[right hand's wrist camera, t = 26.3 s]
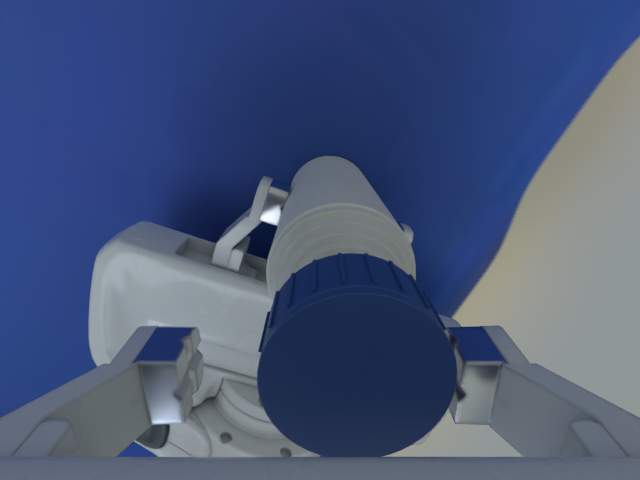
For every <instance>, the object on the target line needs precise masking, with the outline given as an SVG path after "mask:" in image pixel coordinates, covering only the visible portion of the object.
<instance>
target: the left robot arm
mask: <svg viewBox="0 0 640 480" xmlns="http://www.w3.org/2000/svg"><path fill="white" fill-rule="evenodd" d="M290 189H291V185H288V184H286V183H283V182H280V181H277V180H275V179H273V178H269V177H266V176H263V178H262V179H261V181H260V183H259V186H258V189H257V192H256V195H255V198H254V202H253V205H252V207H251V208H250V209H248V210H247V211H246V212H245V213H244V214H243V215H242V216H240V217H239V218H238V219H237V220H236V221H235V222H233V223H232V224H231V225H230V226H229V227H228V228H227V229H226V230H225V231H224V233H223V234H222V236H221V237H220V239H219V240H218V242H217V243H214V242H211V241H207V240H204V239H201V238H198V237H195V236H192V235H189V234H186V233H182V232H179V231H176V230H173V229H170V228H167V227H164V226H161V225H158V224H155V223H151V222H147V221H141V222H138V223H136V224H134V225H132V226H130V227H128V228H127V229H125V230H123V231H121V232H120V233H118V234H117V235H115V236H114V237H113V238H112V239H110V240H109V241H108V242H107V243H106V244H105V245H104V246H103V247H102V248H101V249H100V251H99V252H98V254H97V257H96V259H95V264H94V268H93V274H92V281H91V290H90V301H89V329H88V332H89V346H90V351H91V355H92V357H93V360H94V362H95V364H96V365H97V367H98V366H100V365H102V364H110V363H111V361H112V360H113V359H114V357H115V356H116V355H117V353H118V352H119V351H120V350H121V348H122V347H123V346H124V344H125V343H126V342H127V341H128V339H129V338H130V337H131V335H132V334H133V333H134V332H135V330H136V329H137V328H138V327H141V326H183V327H197V328H198V329H199V332H200V338H201V341H200V344H199V346H198V348H197V349H198V350H199V351H200V352H201V353H202V354H203V361H204V372H203V377H202V383H201V385H200V388H199V390H198V391H197V392H196V393H194V394H193V395H192V398H193V405H192V408H191V410H190V413H189V415H188V417H187V420H186V422H185V424H161V425H150V427H149V428H148V429H147V430H146V431H145V432H144V433H143V434H141V435H140V436H139V437H138V438H137V439H136V440H135V441H134V442H136V443H137V444H139V445H141V446H143V447H144V448H146V449H147V450H149V451H150V452H152V453H154V454H155V455H156V456H158V457H320V455H318V454H315V453H313V452H310V451H308V450H306V449H304V448H302V447H300V446H298V445H296V444H295V443H293V442H292V441H290V440H289V439H287V438H286V437H285V436H284V435H283V434H282V433H281V432H279V430H278V429H277V428H276V427H275V426H274V425H273V424H272V422H271V421H270V419H269V418H268V416H267V415H266V413H265V410H264V408H263V406H262V404H261V401H260V397H259V394H258V387H257V370H258V365H259V359H260V355H261V352H258V350H259V346H260V342H261V337H262V333H263V329H264V325H265V320H266V316H267V312H270V310H271V307H272V304H273V302H272V299H271V296H270V293H269V290H268V286H267V279H266V265H267V259H264V258H261V257H258V256H254V255H251V254H248V253H247V250H248V246H249V243H250V237H249V236H246V235H247V234H249V233H250V232H251V231H252V230H253V229H254V228H255V227H257V226H258V225H259V224H260V223H261V222H262V221H263V222H266V223H269V224H272V225H276V226H278V224H279V221H280V218H281V215H282V211H283V208H284V205H285V203H286V201H287V199H288V196H289V193H290ZM396 222H397V221H396ZM397 223H398V225H399V226H400V228H401V229H402V231H403V232H404V234H405V235H406V237H407V238H408V240H409V242H410V245H411V243H412V241H413V235H414V233H413V231H412V229H411V228H410V226H409V225H406V224H403V223H400V222H397ZM438 315H439V317H440V318H441V320H442V322H443V324H444V325H445V327H461V325H460V324H459V323H458V322H457V321H456V320H454V319H452V318H449V317H446V316H443V315H440V314H438ZM449 411H450V410H449V408H448V409H447V411H446V413H445V415H444V416H443V417H442V419H443V418H444V417H445V416H446V415H447V414H448V412H449ZM442 419H441V420H442ZM441 420H440V421H439V423H440V422H441ZM439 423H438V424H439ZM438 424H437V425H438ZM437 425H436V426H437ZM436 426H435V427H436ZM435 427H434V428H435ZM434 428H433V429H434ZM433 429H432V430H433ZM432 430H431V431H430V432H429V433H428V434H426V435H425V436H424V437H423V438H421V439H420V440H418V441H417V442H415V443H414V444H422V443H423V442H424V441H425V440H426V439H427V438H428V437H429V435H430V433H431V432H432ZM412 445H413V444H412Z"/></svg>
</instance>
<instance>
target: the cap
mask: <svg viewBox="0 0 640 480" xmlns="http://www.w3.org/2000/svg"><path fill="white" fill-rule="evenodd" d="M444 330H446V327H445V325H444V324H443V322H442V320H441V318H440V317H439V315H438V313H437V312H436V310H435V308H434V307H433V305H432V303H431V302H430V300H429V298H428V296H427V295H426V293H425V292H424V293H422V291H421V290H420V288H419V286H418V284H417V283H416V281H415V279H414V277H413V276H412V275H411V274H409V275H408V274H407V273H406V272H405V271H403V270H402V269H401V268H399V267H398V266H396V265H395V264H393V262H392V261H390V260H389V261H386V260H384V259H382V258H378V257H375V256H371V255H368V253H364V254H357V253H346V254H342V253H338V254H337V255H331V256H327V257H324V258H321V259H318V260H316V259H315V260H313V262H311V263H309V264H307V265H306V266H304V267H303V268H301V269H299V270H298V271H297V272H296V273H294V272H293V273H292V274H291V277H290V278H289V279H288V280H287V281H286V282H285V283H284V284H283V286H282V287H281V289H280V290H279V291H276V293H275V297H274V301H273V304H272V307H271V310H270V312H267V316H266V320H265V325H264V329H263V333H262V337H261V342H260V346H259V350H258V352H261V355H260V359H259V365H258V370H257V387H258V394H259V397H260V401H261V404H262V406H263V408H264V410H265V413H266V415H267V416H268V418H269V419H270V421H271V422H272V424H273V425H274V426H275V427H276V428H277V429H278V430H279V432H281V433H282V434H283V435H284V436H285V437H286V438H287V439H289V440H290V441H292V442H293V443H295V444H296V445H298V446H300V447H302V448H304V449H306V450H308V451H310V452H313V453H315V454H318V455H322V456H326V457H382V456H385V455H389V454H392V453H395V452H397V451H400V450H402V449H404V448H406V447H408V446H410V445H412V444H414V443H415V442H417V441H418V440H420V439H421V438H423V437H424V436H425V435H426V434H428V433H429V432H430V431H431V430H432V429H433V428H434V427H435V426H436V425H437V424H438V423H439V421H440V420H441V419H442V417H443V416H444V415H445V413H446V411H447V409H448V408H449V406H450V404H451V401H452V399H453V396H454V393H455V389H456V384H457V362H456V357H455V353H454V349H453V347H452V345H451V343H450V340H449V338H448V337H447V335H446V333H445V331H444Z"/></svg>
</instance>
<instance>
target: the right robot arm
mask: <svg viewBox="0 0 640 480" xmlns="http://www.w3.org/2000/svg"><path fill="white" fill-rule="evenodd" d="M444 331H445V333H446V335H447V337H448V338H449V340H450V343H451V345H452V347H453V349H454V353H455V357H456V362H457V384H456V389H455V393H454V396H453V399H452V401H451V404H450V406H449V410H450V413H451V415H452V417H453V420H454V422H455V424H479V425H490V427H491V428H492V429H493V430H494V431H495V432H497V433H498V434H499V435H500V436H501V437H502V438H503V439H504V440H506V441H507V442H508V443H509V444H510V445H511V446H512V447H513V448H514V449H516V450H517V451H518V452H519V453H520V454H521V455H522V456H523V457H117V456H118V455H119V454H120V453H121V452H122V451H123V450H125V449H126V448H127V447H128V446H129V445H130V444H131V443H132V442H134V441H135V440H136V439H137V438H138V437H139V436H140V435H141V434H143V433H144V432H145V431H146V430H147V429H148V428H149V427H150V425H161V424H185V422H186V420H187V417H188V415H189V413H190V410H191V408H192V405H193V398H192V395H193V394H194V393H196V392H197V391H198V390H199V388H200V385H201V383H202V377H203V372H204V361H203V354H202V353H201V352H200V351H199V350H198V349H197V348H198V346H199V344H200V341H201V338H200V332H199V329H198V328H197V327H183V326H141V327H138V328H137V329H136V330H135V332H134V333H133V334H132V335H131V337H130V338H129V339H128V341H127V342H126V343H125V344H124V346H123V347H122V348H121V350H120V351H119V352H118V353H117V355H116V356H115V357H114V359H113V360H112V361H111V363H110V364H102V365H100V366H98V367H96V368H94V369H93V370H91V371H89V372H87V373H85V374H83V375H81V376H79V377H77V378H75V379H73V380H72V381H70V382H68V383H66V384H64V385H62V386H60V387H58V388H56V389H54V390H52V391H50V392H49V393H47V394H45V395H43V396H41V397H39V398H37V399H35V400H33V401H31V402H29V403H28V404H26V405H24V406H22V407H20V408H18V409H16V410H14V411H12V412H10V413H8V414H7V415H5V416H3V417H1V418H0V480H640V418H639V417H637V416H635V415H633V414H631V413H629V412H627V411H626V410H624V409H622V408H620V407H618V406H616V405H614V404H612V403H610V402H608V401H607V400H605V399H603V398H601V397H599V396H597V395H595V394H593V393H591V392H589V391H587V390H585V389H584V388H582V387H580V386H578V385H576V384H574V383H572V382H570V381H568V380H566V379H565V378H563V377H561V376H559V375H557V374H555V373H553V372H551V371H549V370H547V369H545V368H544V367H542V366H540V365H538V364H530V363H529V361H528V360H527V359H526V357H525V356H524V355H523V354H522V352H521V351H520V350H519V348H518V347H517V346H516V345H515V343H514V342H513V341H512V339H511V338H510V337H509V336H508V334H507V333H506V332H505V330H504V329H503V328H502V327H500V326H480V327H446V330H444Z"/></svg>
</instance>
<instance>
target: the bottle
mask: <svg viewBox="0 0 640 480" xmlns="http://www.w3.org/2000/svg"><path fill="white" fill-rule="evenodd" d="M338 253H342V254H346V253H357V254H364V253H368V255H371V256H375V257H378V258H382V259H384V260H386V261H389V260H390V261H392V262H393V264H395V265H396V266H398V267H399V268H401V269H402V270H403V271H405V272H406V273H407V274H408V275H409V274H411V275H412V276H413V277H414V279H415V281H416V264H415V257H414V253H413V249H412V247H411V245H410V242H409V240H408V238H407V237H406V235H405V234H404V232H403V231H402V229H401V228H400V226H399V225H398V223H397V222H396V221H395V219H394V218H393V216H392V215H391V213H390V212H389V211H388V209H387V208H386V206H385V205H384V203H383V202H382V201H381V199H380V198H379V196H378V195H377V194H376V192H375V191H374V189H373V188H372V186H371V185H370V184H369V182H368V181H367V179H366V178H365V176H364V175H363V174H362V172H361V171H360V170H359V169H358V167H356V166H355V165H354V164H353V163H351V162H350V161H348V160H346V159H344V158H341V157H336V156H322V157H318V158H315V159H313V160H311V161H309V162H307V163H306V164H304V165H303V166H302V167H301V168H300V169H299V170H298V172H297V173H296V175H295V176H294V178H293V180H292V183H291V189H290V193H289V196H288V199H287V201H286V203H285V205H284V208H283V211H282V215H281V218H280V221H279V224H278V227H277V230H276V233H275V237H274V240H273V243H272V246H271V249H270V252H269V255H268V260H267V265H266V279H267V286H268V290H269V293H270V296H271V299H272V302H273V301H274V297H275V293H276V291H279V290H280V289H281V287H282V286H283V284H284V283H285V282H286V281H287V280H288V279H289V278H290V277H291V274H292V273H293V272H294V273H296V272H297V271H298V270H299V269H301V268H303V267H304V266H306V265H307V264H309V263H311V262H313V260H315V259H316V260H318V259H321V258H324V257H327V256H331V255H337V254H338Z"/></svg>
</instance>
